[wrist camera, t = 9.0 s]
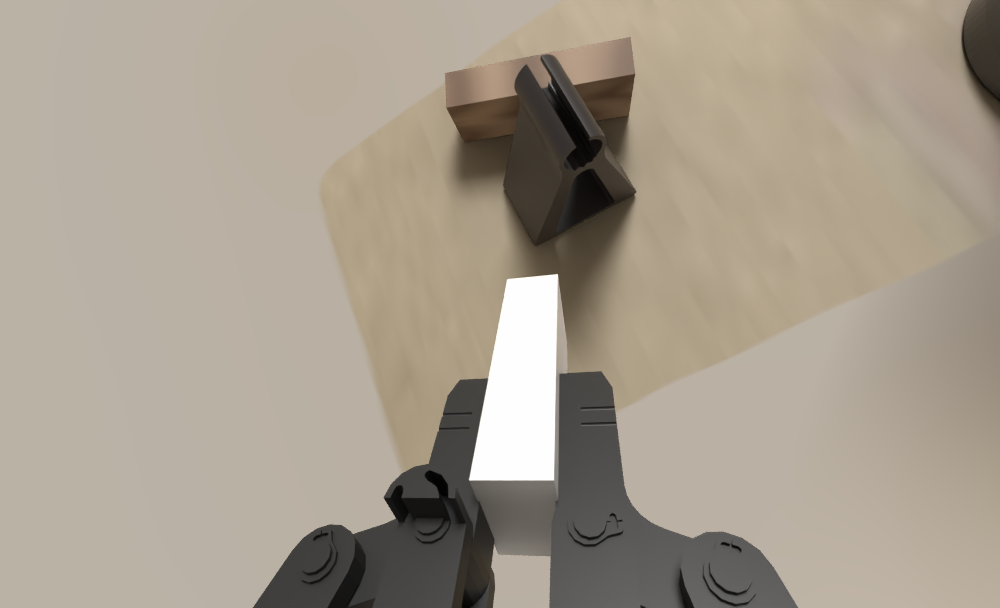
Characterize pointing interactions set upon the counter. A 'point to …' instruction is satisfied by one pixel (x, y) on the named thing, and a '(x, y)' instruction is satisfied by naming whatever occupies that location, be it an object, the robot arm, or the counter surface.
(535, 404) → the robot arm
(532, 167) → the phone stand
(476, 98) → the block
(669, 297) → the counter surface
